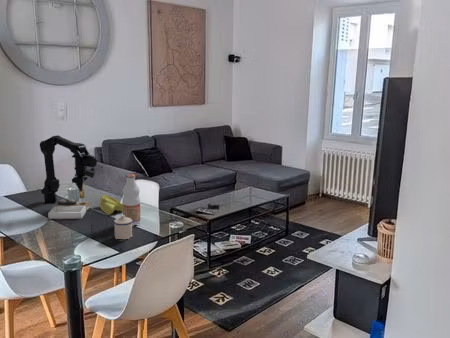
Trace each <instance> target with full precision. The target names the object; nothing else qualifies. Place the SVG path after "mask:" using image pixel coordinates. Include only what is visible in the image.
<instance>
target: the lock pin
mask: <svg viewBox="0 0 450 338" xmlns="http://www.w3.org/2000/svg"><path fill="white" fill-rule="evenodd" d="M85 183H86V180H85V181H84V182H83V187H82V191H80V190H79V189H78V194H79V196H78V197H79V199H85V198H86V195H85Z"/></svg>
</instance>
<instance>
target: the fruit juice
mask: <svg viewBox="0 0 450 338" xmlns="http://www.w3.org/2000/svg"><path fill="white" fill-rule="evenodd" d="M125 178H126V181H125V184H124V186H123V187H122V192H121V193H122V194H123V197H122V204H123V212H122V215H125V217H127V218H131V219H132V227H135V226H134V225H137V224H139V223H140V224H141V199H140V192H141V191H140V187H139V186H138V185H137V182H136V174H134V173H127V174H126V175H125ZM140 224H139V225H140ZM137 226H138V225H137Z"/></svg>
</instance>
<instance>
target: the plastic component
mask: <svg viewBox="0 0 450 338" xmlns="http://www.w3.org/2000/svg"><path fill="white" fill-rule="evenodd" d="M99 206H100V210H101V211H103V212H104V213H105V214H106V215H109V216H111V215H112V214H113V213H114V212H115V211H118V212H122V213H123V203H121V202H120V201H118V200H117V199H116V198H114V197H111V196H108V195H105V194H101V195H100V198H99Z"/></svg>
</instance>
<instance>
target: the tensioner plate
mask: <svg viewBox="0 0 450 338" xmlns="http://www.w3.org/2000/svg"><path fill="white" fill-rule="evenodd" d="M90 204H91V203H90V201H77V200H76V199H73V198H72V199H60V200H57V201H56V205H55V206H86V212H87V211H88V210H89V208H90Z"/></svg>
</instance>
